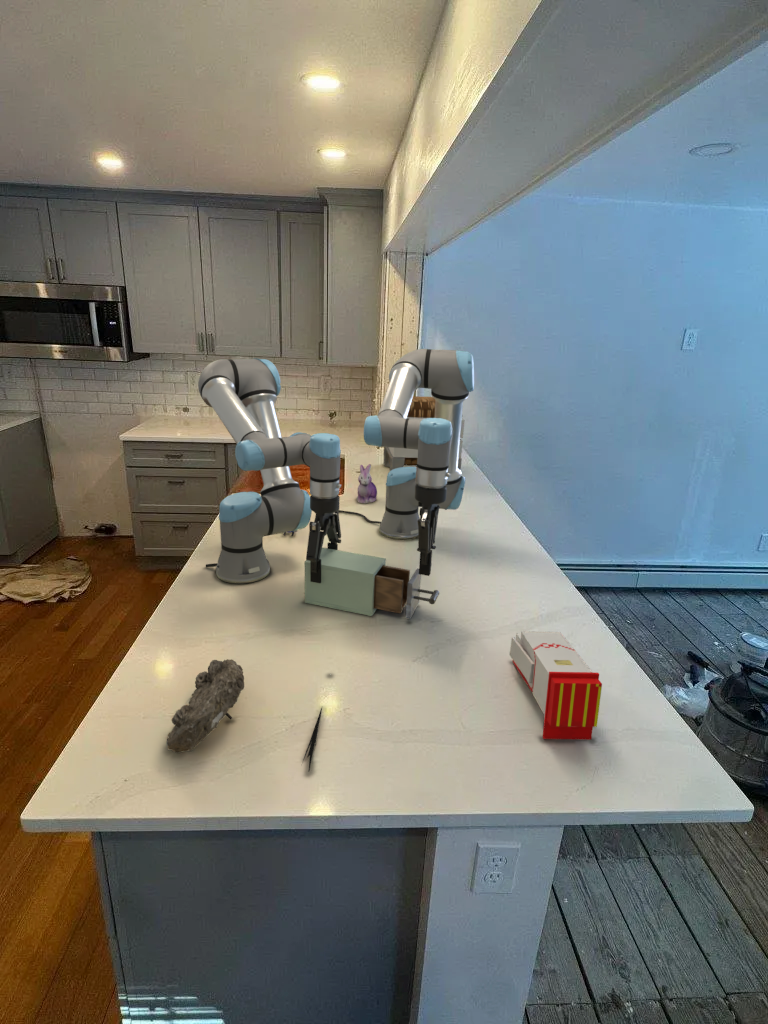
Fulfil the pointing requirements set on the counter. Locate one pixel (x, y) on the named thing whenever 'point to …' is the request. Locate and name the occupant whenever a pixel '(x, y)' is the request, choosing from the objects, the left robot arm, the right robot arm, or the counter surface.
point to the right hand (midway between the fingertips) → (424, 573)
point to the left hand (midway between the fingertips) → (324, 573)
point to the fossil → (206, 705)
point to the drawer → (399, 590)
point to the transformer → (403, 456)
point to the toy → (558, 683)
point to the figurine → (366, 486)
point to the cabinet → (344, 581)
